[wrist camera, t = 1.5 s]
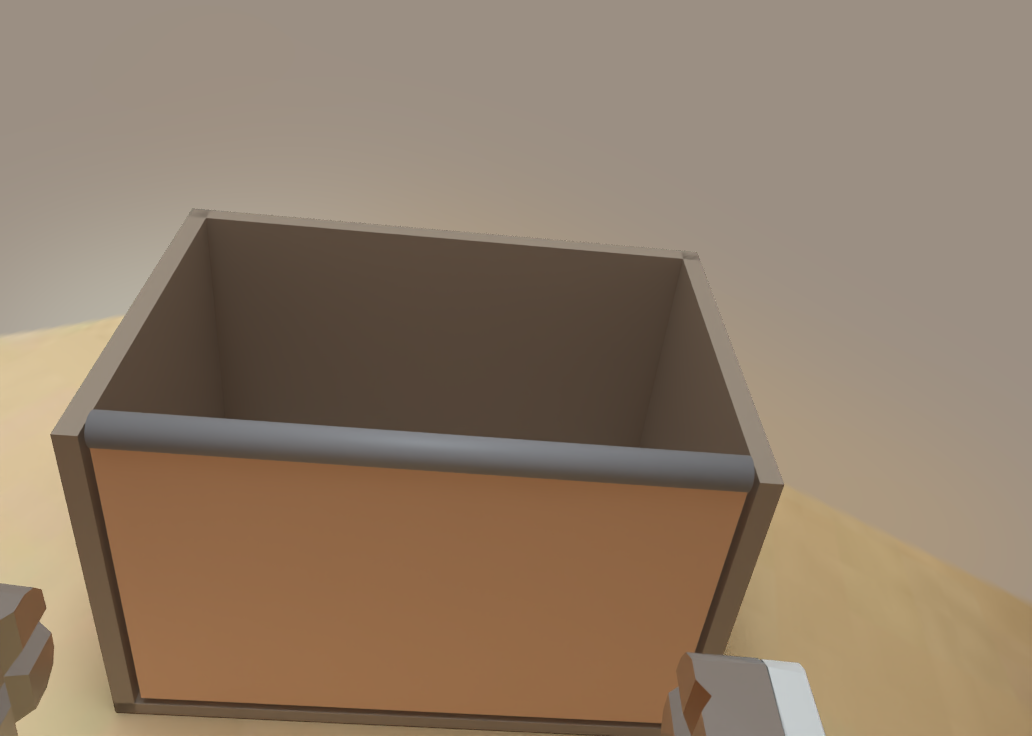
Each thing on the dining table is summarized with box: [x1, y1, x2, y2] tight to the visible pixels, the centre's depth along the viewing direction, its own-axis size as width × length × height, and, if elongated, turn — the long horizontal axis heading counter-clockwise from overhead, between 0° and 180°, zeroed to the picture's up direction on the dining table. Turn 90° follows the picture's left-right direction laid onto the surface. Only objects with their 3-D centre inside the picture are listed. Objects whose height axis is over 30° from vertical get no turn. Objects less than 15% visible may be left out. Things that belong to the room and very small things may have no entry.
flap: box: [84, 409, 755, 723], centre depth 33 cm, size 21×1×14 cm, turn 91°
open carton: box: [50, 209, 784, 736], centre depth 40 cm, size 23×16×14 cm
